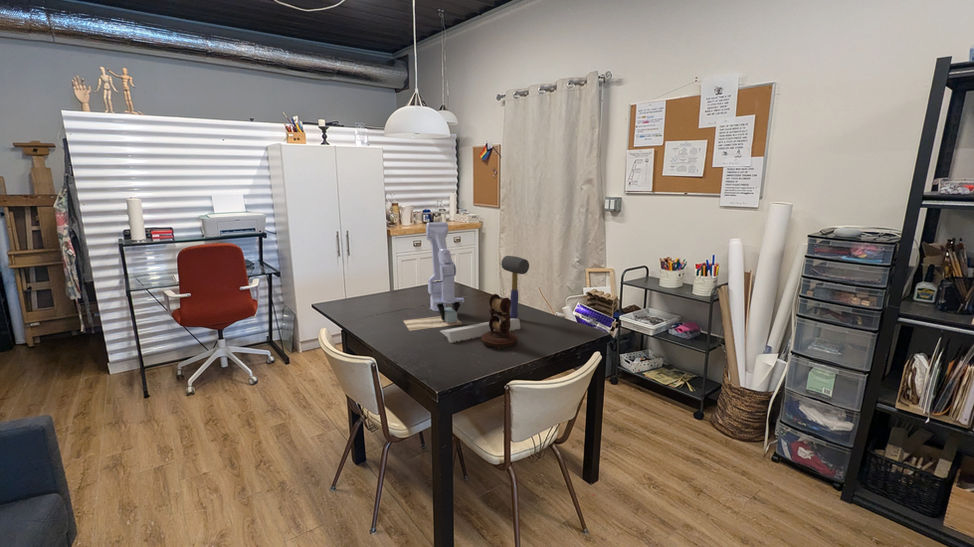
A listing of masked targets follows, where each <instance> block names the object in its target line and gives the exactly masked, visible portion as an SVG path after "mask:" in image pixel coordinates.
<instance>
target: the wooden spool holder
mask: <svg viewBox="0 0 974 547" xmlns="http://www.w3.org/2000/svg"><path fill="white" fill-rule="evenodd" d="M510 299H511V298H509V297H504V298H503V299H501V297H500V295H499V294H497V293H493V294H492V295H491V296H490V298H489V301H488V303H489V306H490V308H489V310H488V311H489V314H490V317H489V318H490V319H489V320H488V322H489V327H490V330H491V331H489V332H487V333H485V334H483V335H482V336H481V337H480V338H481V339H480V340H481V343H483V344H484V345H487V346H491V347H496V350H499V349H500V348H501V347H510V346H513V345H516V344H518V341H519V340H518V338H519V337H518V336H517V334H516V333H513V332H512V331H509V330H510V318H511V316H510V313H511V300H510ZM494 329H495V330H494ZM493 330H494V331H493Z"/></svg>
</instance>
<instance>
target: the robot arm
mask: <svg viewBox="0 0 974 547" xmlns="http://www.w3.org/2000/svg"><path fill="white" fill-rule="evenodd" d="M448 233H449V224H448V223H447V221H441V222H440V221H439V222H427V223H426V225H425V236H426V240H427V241H429V242H430V247H431V260H432V262H431V263H432V275H431V276H430V277H429V278H428V279H427V291H428V294H429V295H430V308H428V309H429V310H432V311H434V312H439V314H440V316H441V319H442V320H444V308H447V305H448V304H451V308H452V309H454V310H455V311H456V312H457V313H458V311H459V309H460V307H461V303H465V298H464V297H455V277H456V274H457V269H456V264H455V262H454V261H453V259H452V254H451V251H450V250H449V249H448V248H447V241H446V240H447V239H446V238H447V237H448Z"/></svg>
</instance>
